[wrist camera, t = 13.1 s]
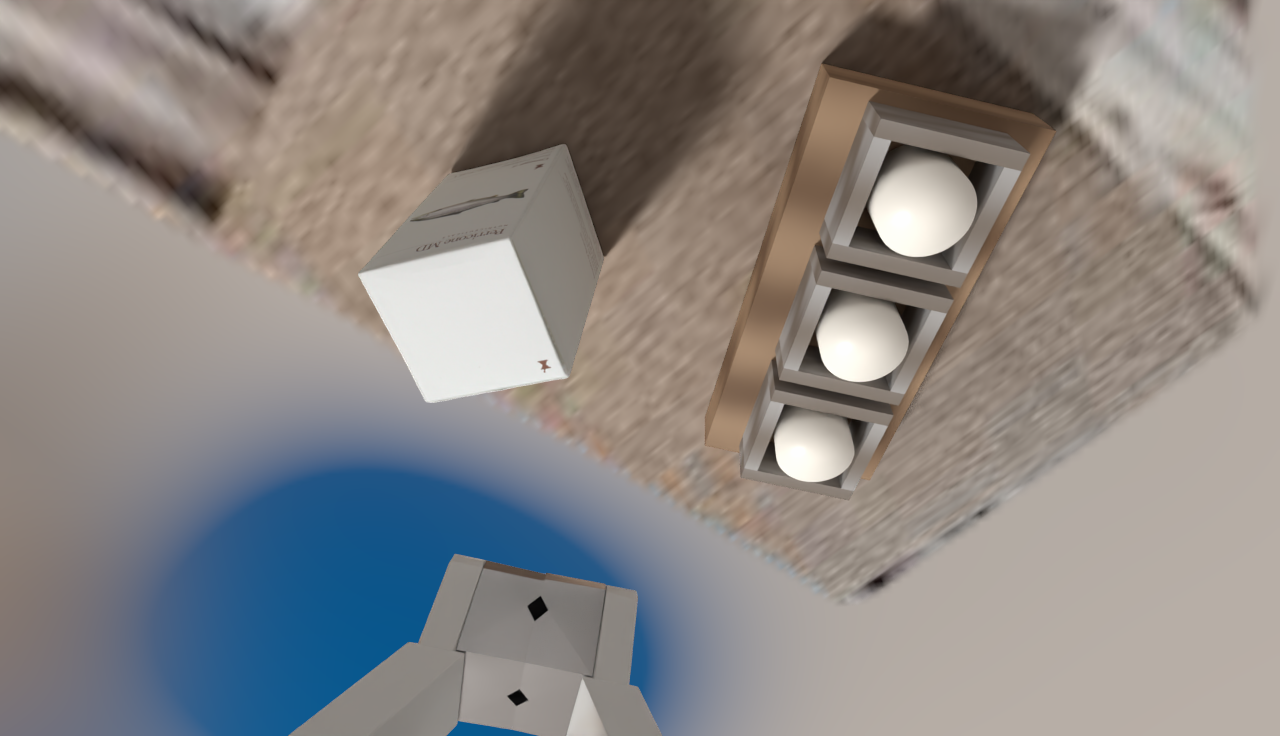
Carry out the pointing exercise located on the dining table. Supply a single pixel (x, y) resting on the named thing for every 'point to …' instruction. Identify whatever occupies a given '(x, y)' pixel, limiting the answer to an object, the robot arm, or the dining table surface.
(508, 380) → the supplement box
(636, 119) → the dining table surface
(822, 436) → the knob far
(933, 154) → the knob near
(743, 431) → the knob mount
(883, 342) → the knob middle
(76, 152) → the dining table surface
